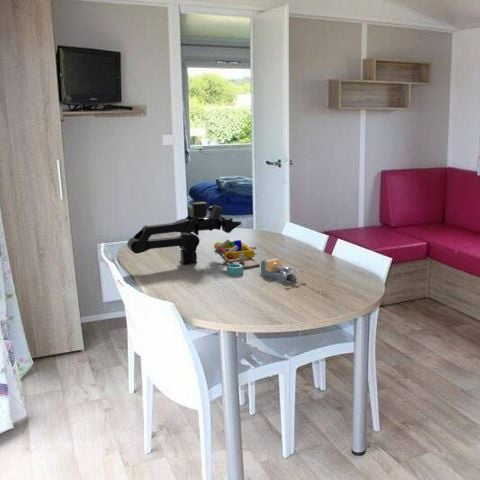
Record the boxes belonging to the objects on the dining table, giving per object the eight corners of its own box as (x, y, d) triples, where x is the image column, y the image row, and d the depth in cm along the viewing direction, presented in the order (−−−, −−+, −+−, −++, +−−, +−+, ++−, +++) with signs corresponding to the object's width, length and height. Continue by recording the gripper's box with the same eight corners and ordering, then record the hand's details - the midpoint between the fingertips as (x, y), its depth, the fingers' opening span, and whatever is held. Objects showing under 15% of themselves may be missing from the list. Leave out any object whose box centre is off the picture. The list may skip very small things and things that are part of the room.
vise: (257, 275, 228) (257, 260, 226) (276, 270, 234) (276, 256, 232) (284, 285, 214) (284, 269, 212) (304, 280, 219) (304, 265, 218)
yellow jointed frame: (227, 249, 242) (213, 237, 270) (227, 262, 243) (213, 249, 272) (266, 245, 246) (248, 234, 275) (266, 258, 248) (248, 246, 276)
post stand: (235, 270, 235) (235, 259, 234) (223, 264, 245) (223, 253, 244) (259, 266, 240) (259, 255, 239) (246, 260, 251) (246, 249, 250)
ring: (231, 276, 227) (231, 268, 227) (225, 272, 233) (224, 265, 232) (245, 273, 230) (244, 266, 229) (238, 270, 236) (237, 263, 235)
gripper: (214, 210, 239) (245, 207, 246) (198, 203, 255) (228, 201, 262) (214, 234, 242) (245, 231, 248) (198, 226, 258) (228, 223, 265)
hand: (236, 221), depth 256 cm, fingers open, 9 cm apart
